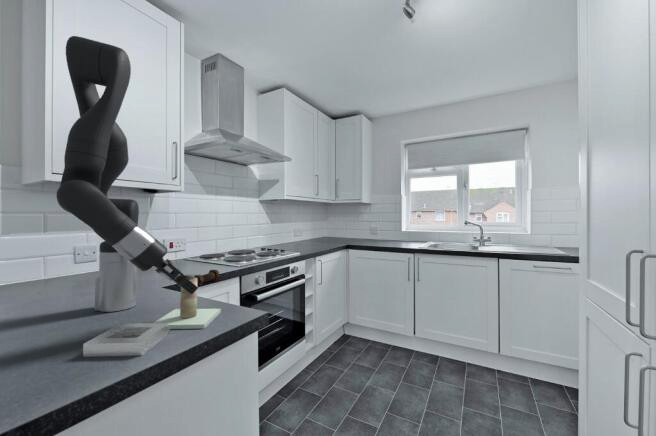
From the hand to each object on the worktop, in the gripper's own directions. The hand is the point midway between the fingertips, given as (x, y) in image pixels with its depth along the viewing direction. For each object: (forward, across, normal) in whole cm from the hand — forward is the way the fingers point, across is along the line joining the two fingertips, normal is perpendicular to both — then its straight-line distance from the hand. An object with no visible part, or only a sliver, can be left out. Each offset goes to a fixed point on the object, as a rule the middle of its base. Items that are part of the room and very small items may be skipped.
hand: (190, 288), depth 77 cm
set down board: (+6, 0, +6) cm, 8 cm away
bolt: (+18, +45, -5) cm, 49 cm away
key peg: (+5, 0, +6) cm, 8 cm away
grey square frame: (-4, -9, +16) cm, 19 cm away
